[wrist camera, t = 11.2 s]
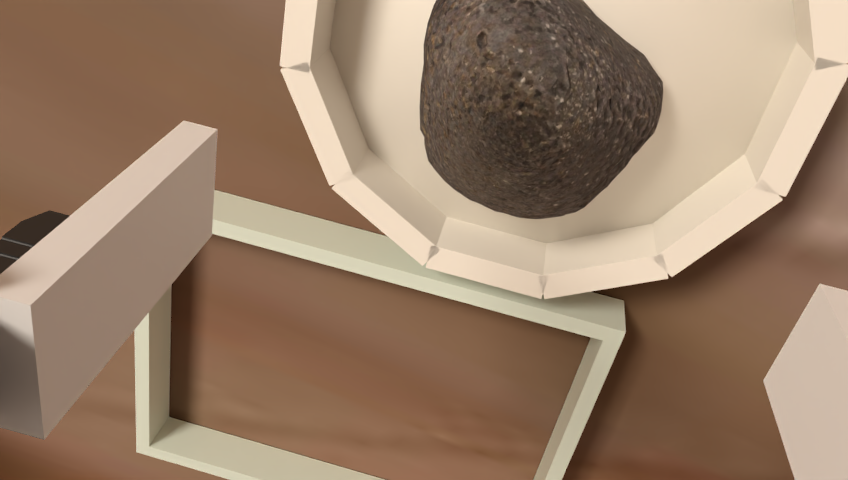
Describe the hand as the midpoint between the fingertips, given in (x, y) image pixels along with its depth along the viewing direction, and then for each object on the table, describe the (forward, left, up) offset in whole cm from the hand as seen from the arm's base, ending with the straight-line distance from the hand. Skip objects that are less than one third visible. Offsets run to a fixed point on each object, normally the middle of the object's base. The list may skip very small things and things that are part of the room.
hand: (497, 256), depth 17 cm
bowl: (0, 0, -17) cm, 17 cm away
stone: (0, -2, -16) cm, 16 cm away
